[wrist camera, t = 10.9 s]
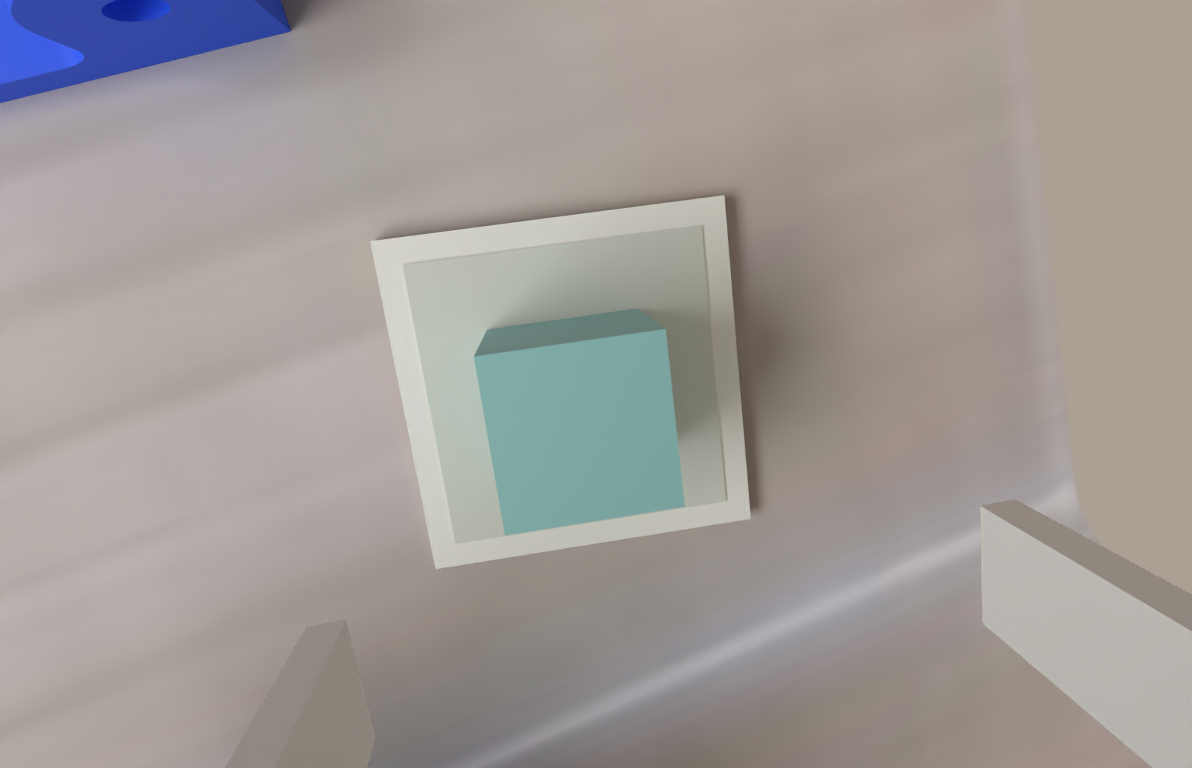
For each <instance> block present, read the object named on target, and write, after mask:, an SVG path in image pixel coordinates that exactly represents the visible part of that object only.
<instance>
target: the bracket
mask: <svg viewBox="0 0 1192 768" xmlns="http://www.w3.org/2000/svg"><path fill="white" fill-rule="evenodd" d="M290 31H291V30H290V27H289V24H288V21H287V18H286V15H285V12H284V9H283V6H282V3H281V0H0V103H2V102H6V101H10V100H14V99H18V98H22V97H26V96H30V95H34V94H38V93H42V92H46V91H51V90H55V89H59V88H63V87H67V86H71V85H75V84H79V83H83V82H87V81H91V80H95V79H99V78H103V77H107V76H111V75H115V74H120V73H124V72H128V71H132V70H136V69H140V68H144V67H148V66H152V65H156V64H160V63H164V62H168V61H172V60H176V59H180V58H185V57H189V56H193V55H197V54H201V53H205V52H209V51H213V50H217V49H221V48H225V47H229V46H233V45H237V44H241V43H245V42H249V41H254V40H258V39H262V38H266V37H270V36H274V35H278V34H282V33H286V32H290Z"/></svg>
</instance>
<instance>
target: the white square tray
mask: <svg viewBox="0 0 1192 768" xmlns="http://www.w3.org/2000/svg"><path fill="white" fill-rule="evenodd" d="M370 243H371V248H372V253H373V258H374V263H375V268H376V273H377V278H378V283H379V288H380V293H381V298H382V303H383V308H384V313H385V318H386V323H387V328H388V333H389V338H390V343H391V348H392V353H393V358H394V363H395V368H396V373H397V378H398V383H399V388H400V393H401V398H402V403H403V408H404V413H405V418H406V423H407V428H408V433H409V438H410V443H411V448H412V453H413V458H414V463H415V468H416V473H417V478H418V483H419V488H420V493H421V498H422V503H423V508H424V513H425V518H426V523H427V528H428V533H429V538H430V543H431V549H432V554H433V559H434V564H435V569H440V568H446V567H452V566H458V565H465V564H471V563H477V562H483V561H490V560H496V559H502V558H509V557H515V556H521V555H527V554H534V553H540V552H546V551H552V550H559V549H565V548H571V547H577V546H584V545H590V544H596V543H603V542H609V541H615V540H621V539H628V538H634V537H640V536H646V535H653V534H659V533H665V532H671V531H678V530H684V529H690V528H697V527H703V526H709V525H715V524H722V523H728V522H734V521H740V520H747V519H751V516H750V503H749V491H748V479H747V467H746V454H745V442H744V430H743V417H742V405H741V393H740V381H739V368H738V356H737V344H736V331H735V319H734V307H733V295H732V282H731V270H730V258H729V245H728V233H727V221H726V209H725V196H724V195H722V196H714V197H706V198H699V199H691V200H683V201H676V202H668V203H660V204H653V205H645V206H637V207H629V208H622V209H614V210H606V211H599V212H591V213H583V214H576V215H568V216H560V217H553V218H545V219H537V220H529V221H522V222H514V223H506V224H499V225H491V226H483V227H476V228H468V229H460V230H452V231H445V232H437V233H429V234H422V235H414V236H406V237H399V238H391V239H383V240H375V241H370ZM630 309H638V310H640V311H641V312H643V313H644V314H645V315H647V316H648V317H650V318H651V319H652V320H654V321H655V322H657V323H658V324H659V325H661V326H662V327H664V328H665V329H666V336H667V346H668V355H669V364H670V373H671V383H672V392H673V401H674V410H675V420H676V429H677V438H678V447H679V457H680V466H681V475H682V485H683V494H684V503H685V507H680V508H674V509H668V510H662V511H655V512H649V513H643V514H637V515H630V516H624V517H618V518H612V519H605V520H599V521H593V522H587V523H580V524H574V525H568V526H562V527H556V528H549V529H543V530H537V531H531V532H524V533H518V534H512V535H506V536H505V533H504V527H503V521H502V516H501V510H500V504H499V498H498V493H497V487H496V481H495V476H494V470H493V464H492V458H491V453H490V447H489V441H488V436H487V430H486V424H485V418H484V413H483V407H482V401H481V396H480V390H479V384H478V378H477V373H476V367H475V361H474V355H475V353H476V351H477V349H478V347H479V345H480V343H481V341H482V339H483V337H484V335H485V333H486V331H487V330H489V329H496V328H503V327H510V326H517V325H524V324H531V323H538V322H546V321H553V320H560V319H567V318H574V317H581V316H588V315H595V314H602V313H609V312H616V311H623V310H630Z"/></svg>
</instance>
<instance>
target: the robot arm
mask: <svg viewBox="0 0 1192 768" xmlns="http://www.w3.org/2000/svg"><path fill="white" fill-rule="evenodd" d="M980 517H981V572H982V623H983V624H984V625H985V626H986V627H988V628H989V629H990V630H991V631H992V632H993V633H995V634H996V635H997V636H998V637H999V638H1001V639H1002V640H1003V641H1004V642H1005V643H1006V644H1008V645H1009V646H1010V647H1011V648H1012V649H1013V650H1015V651H1016V652H1017V653H1018V654H1019V655H1021V656H1022V657H1023V658H1024V659H1025V660H1026V661H1028V662H1029V663H1030V664H1031V665H1032V666H1033V667H1035V668H1036V669H1037V670H1038V671H1039V672H1041V673H1042V674H1043V675H1044V676H1045V677H1046V678H1048V679H1049V680H1050V681H1051V682H1052V683H1054V684H1055V685H1056V686H1057V687H1058V688H1059V689H1061V690H1062V691H1063V692H1064V693H1065V694H1066V695H1068V696H1069V697H1070V698H1071V699H1072V700H1074V701H1075V702H1076V703H1077V704H1078V705H1079V706H1081V707H1082V708H1083V709H1084V710H1085V711H1086V712H1088V713H1089V714H1090V715H1091V716H1092V717H1094V718H1095V719H1096V720H1097V721H1098V722H1099V723H1101V724H1102V725H1103V726H1104V727H1105V728H1106V729H1108V730H1109V731H1110V732H1111V733H1112V734H1114V735H1115V736H1116V737H1117V738H1118V739H1119V740H1121V741H1122V742H1123V743H1124V744H1125V745H1126V746H1128V747H1129V748H1130V749H1131V750H1132V751H1134V752H1135V753H1136V754H1137V755H1138V756H1139V757H1141V758H1142V759H1143V760H1144V761H1145V762H1147V763H1148V764H1149V765H1150V766H1151V767H1152V768H1192V595H1191V594H1190V593H1188V592H1186V591H1184V590H1182V589H1180V588H1178V587H1177V586H1175V585H1173V584H1171V583H1169V582H1167V581H1165V580H1164V579H1162V578H1160V577H1158V576H1156V575H1154V574H1152V573H1151V572H1149V571H1147V570H1145V569H1143V568H1141V567H1139V566H1138V565H1136V564H1134V563H1132V562H1130V561H1128V560H1126V559H1125V558H1123V557H1121V556H1119V555H1117V554H1115V553H1113V552H1112V551H1110V550H1108V549H1106V548H1104V547H1102V546H1100V545H1098V544H1097V543H1095V542H1093V541H1091V540H1089V539H1087V538H1085V537H1084V536H1082V535H1080V534H1078V533H1076V532H1074V531H1072V530H1071V529H1069V528H1067V527H1065V526H1063V525H1061V524H1059V523H1058V522H1056V521H1054V520H1052V519H1050V518H1048V517H1046V516H1045V515H1043V514H1041V513H1039V512H1037V511H1035V510H1033V509H1032V508H1030V507H1028V506H1026V505H1024V504H1022V503H1020V502H1018V501H1017V500H1010V501H1005V502H999V503H994V504H988V505H983V506H980ZM375 741H376V738H375V734H374V730H373V726H372V722H371V718H370V714H369V710H368V706H367V702H366V698H365V694H364V690H363V686H362V683H361V679H360V675H359V671H358V667H357V663H356V659H355V655H354V651H353V647H352V643H351V639H350V635H349V631H348V627H347V624H346V621H340V622H334V623H329V624H323V625H318V626H312V627H307V628H306V629H305V631H304V632H303V634H302V636H301V638H300V639H299V641H298V643H297V645H296V646H295V648H294V650H293V651H292V653H291V655H290V657H289V658H288V660H287V662H286V664H285V665H284V667H283V669H282V671H281V672H280V674H279V676H278V678H277V679H276V681H275V683H274V684H273V686H272V688H271V690H270V691H269V693H268V695H267V697H266V698H265V700H264V702H263V704H262V705H261V707H260V709H259V710H258V712H257V714H256V716H255V717H254V719H253V721H252V723H251V724H250V726H249V728H248V730H247V731H246V733H245V735H244V736H243V738H242V740H241V742H240V743H239V745H238V747H237V749H236V750H235V752H234V754H233V756H232V757H231V759H230V761H229V762H228V764H227V766H226V768H367V767H368V764H369V760H370V757H371V754H372V751H373V747H374V744H375Z"/></svg>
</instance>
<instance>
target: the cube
mask: <svg viewBox="0 0 1192 768" xmlns="http://www.w3.org/2000/svg"><path fill="white" fill-rule="evenodd" d="M474 361H475V367H476V373H477V378H478V384H479V390H480V396H481V401H482V407H483V413H484V418H485V424H486V430H487V436H488V441H489V447H490V453H491V458H492V464H493V470H494V476H495V481H496V487H497V493H498V498H499V504H500V510H501V516H502V521H503V527H504V533H505V536H506V535H512V534H518V533H524V532H531V531H537V530H543V529H549V528H556V527H562V526H568V525H574V524H580V523H587V522H593V521H599V520H605V519H612V518H618V517H624V516H630V515H637V514H643V513H649V512H655V511H662V510H668V509H674V508H680V507H685V503H684V494H683V485H682V475H681V466H680V457H679V447H678V438H677V429H676V420H675V410H674V401H673V392H672V383H671V373H670V364H669V355H668V346H667V336H666V329H665V328H664V327H662V326H661V325H659V324H658V323H657V322H655V321H654V320H652V319H651V318H650V317H648V316H647V315H645V314H644V313H643V312H641V311H640V310H638V309H630V310H623V311H616V312H609V313H602V314H595V315H588V316H581V317H574V318H567V319H560V320H553V321H546V322H538V323H531V324H524V325H517V326H510V327H503V328H496V329H489V330H487V331H486V333H485V335H484V337H483V339H482V341H481V343H480V345H479V347H478V349H477V351H476V353H475V355H474Z"/></svg>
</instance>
